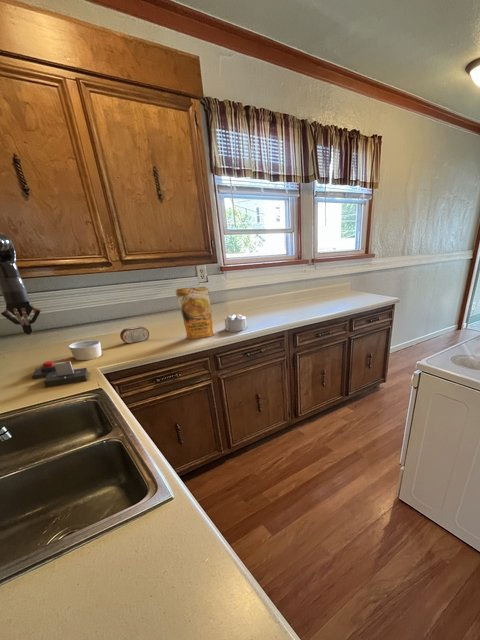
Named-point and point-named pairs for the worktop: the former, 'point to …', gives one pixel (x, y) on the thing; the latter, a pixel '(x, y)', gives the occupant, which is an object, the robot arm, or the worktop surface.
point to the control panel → (66, 378)
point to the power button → (48, 364)
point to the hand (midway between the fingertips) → (29, 334)
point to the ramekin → (86, 350)
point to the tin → (134, 334)
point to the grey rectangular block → (64, 368)
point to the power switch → (43, 372)
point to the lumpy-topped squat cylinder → (235, 323)
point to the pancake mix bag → (196, 311)
